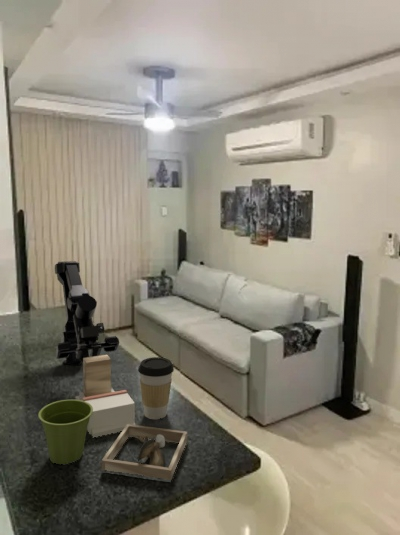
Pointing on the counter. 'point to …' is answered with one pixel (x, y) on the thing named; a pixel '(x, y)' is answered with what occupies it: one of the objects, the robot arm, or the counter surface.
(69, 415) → the plant pot
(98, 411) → the housing
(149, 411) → the coffee cup
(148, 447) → the eagle figurine
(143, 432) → the frame
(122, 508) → the counter surface
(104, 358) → the light wood block
